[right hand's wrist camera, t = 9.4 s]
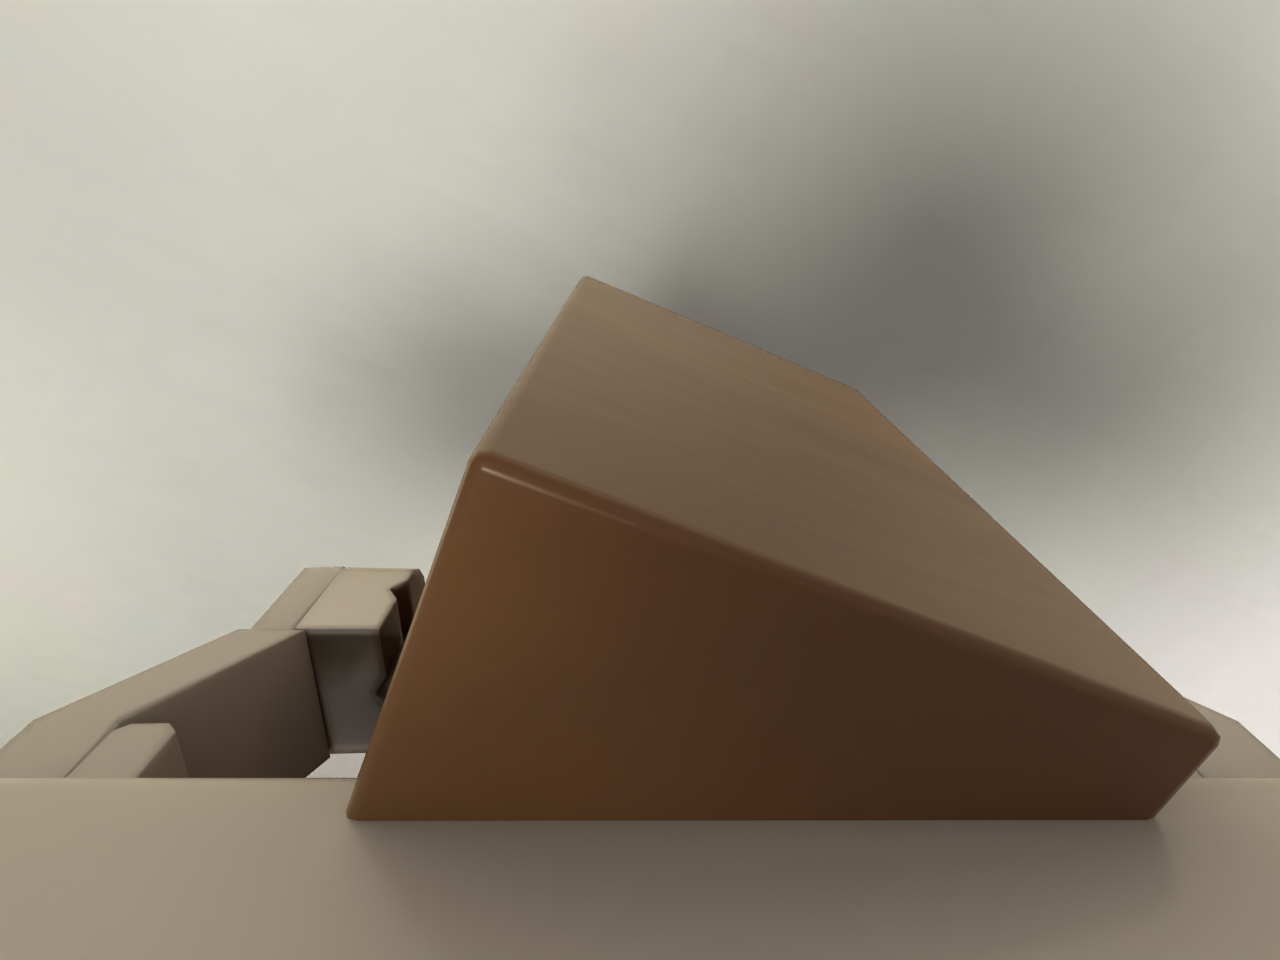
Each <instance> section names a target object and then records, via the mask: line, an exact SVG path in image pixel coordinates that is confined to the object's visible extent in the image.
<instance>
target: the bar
mask: <svg viewBox="0 0 1280 960" xmlns="http://www.w3.org/2000/svg"><path fill="white" fill-rule="evenodd" d="M1220 739H1221V736H1220V734H1219V733H1218V731H1217V729H1216V728H1215V727H1214V726H1213V725H1212V723H1211V722H1209V721H1208V720H1207V719H1206V718H1205V717H1204V716H1203V715H1202V714H1201V713H1200V712H1199V711H1198V710H1197V709H1196V708H1195V707H1194V706H1192V705H1191V704H1190V703H1189V702H1188V701H1187V700H1186V699H1185V698H1184V697H1183V696H1182V695H1181V694H1180V693H1179V692H1178V691H1176V690H1175V689H1174V688H1173V687H1172V686H1171V685H1170V684H1169V683H1168V682H1167V681H1166V680H1165V679H1164V678H1163V677H1162V676H1160V675H1159V674H1158V673H1157V672H1156V671H1155V670H1154V669H1153V668H1152V667H1151V666H1150V665H1149V664H1148V663H1147V662H1146V661H1145V660H1143V659H1142V658H1141V657H1140V656H1139V655H1138V654H1137V653H1136V652H1135V651H1134V650H1133V649H1132V648H1131V647H1130V646H1129V645H1127V644H1126V643H1125V642H1124V641H1123V640H1122V639H1121V638H1120V637H1119V636H1118V635H1117V634H1116V633H1115V632H1114V631H1113V630H1111V629H1110V628H1109V627H1108V626H1107V625H1106V624H1105V623H1104V622H1103V621H1102V620H1101V619H1100V618H1099V617H1098V616H1097V615H1096V614H1094V613H1093V612H1092V611H1091V610H1090V609H1089V608H1088V607H1087V606H1086V605H1085V604H1084V603H1083V602H1082V601H1081V600H1080V599H1078V598H1077V597H1076V596H1075V595H1074V594H1073V593H1072V592H1071V591H1070V590H1069V589H1068V588H1067V587H1066V586H1065V585H1064V584H1062V583H1061V582H1060V581H1059V580H1058V579H1057V578H1056V577H1055V576H1054V575H1053V574H1052V573H1051V572H1050V571H1049V570H1048V569H1046V568H1045V567H1044V566H1043V565H1042V564H1041V563H1040V562H1039V561H1038V560H1037V559H1036V558H1035V557H1034V556H1033V555H1032V554H1031V553H1029V552H1028V551H1027V550H1026V549H1025V548H1024V547H1023V546H1022V545H1021V544H1020V543H1019V542H1018V541H1017V540H1016V539H1015V538H1013V537H1012V536H1011V535H1010V534H1009V533H1008V532H1007V531H1006V530H1005V529H1004V528H1003V527H1002V526H1001V525H1000V524H999V523H997V522H996V521H995V520H994V519H993V518H992V517H991V516H990V515H989V514H988V513H987V512H986V511H985V510H984V509H983V508H982V507H980V506H979V505H978V504H977V503H976V502H975V501H974V500H973V499H972V498H971V497H970V496H969V495H968V494H967V493H966V492H964V491H963V490H962V489H961V488H960V487H959V486H958V485H957V484H956V483H955V482H954V481H953V480H952V479H951V478H950V477H948V476H947V475H946V474H945V473H944V472H943V471H942V470H941V469H940V468H939V467H938V466H937V465H936V464H935V463H934V462H933V461H931V460H930V459H929V458H928V457H927V456H926V455H925V454H924V453H923V452H922V451H921V450H920V449H919V448H918V447H917V446H915V445H914V444H913V443H912V442H911V441H910V440H909V439H908V438H907V437H906V436H905V435H904V434H903V433H902V432H901V431H899V430H898V429H897V428H896V427H895V426H894V425H893V424H892V423H891V422H890V421H889V420H888V419H887V418H886V417H885V416H883V415H882V414H881V413H880V412H879V411H878V410H877V409H876V408H875V407H874V406H873V405H872V404H871V403H870V402H869V401H868V400H866V399H865V398H864V397H863V396H862V395H861V394H860V393H859V392H858V391H857V390H855V389H853V388H850V387H848V386H846V385H843V384H841V383H839V382H836V381H834V380H832V379H829V378H827V377H824V376H822V375H820V374H817V373H815V372H813V371H810V370H808V369H806V368H803V367H801V366H799V365H796V364H794V363H791V362H789V361H787V360H784V359H782V358H780V357H777V356H775V355H773V354H770V353H768V352H766V351H763V350H761V349H758V348H756V347H754V346H751V345H749V344H747V343H744V342H742V341H740V340H737V339H735V338H733V337H730V336H728V335H725V334H723V333H721V332H718V331H716V330H714V329H711V328H709V327H707V326H704V325H702V324H700V323H697V322H695V321H692V320H690V319H688V318H685V317H683V316H681V315H678V314H676V313H674V312H671V311H669V310H666V309H664V308H662V307H659V306H657V305H655V304H652V303H650V302H648V301H645V300H643V299H641V298H638V297H636V296H633V295H631V294H629V293H626V292H624V291H622V290H619V289H617V288H615V287H612V286H610V285H608V284H605V283H603V282H600V281H598V280H596V279H593V278H591V277H589V276H584V277H583V278H582V279H581V280H580V281H579V283H578V284H577V286H576V288H575V289H574V291H573V292H572V294H571V296H570V297H569V299H568V301H567V302H566V304H565V305H564V307H563V309H562V310H561V312H560V313H559V315H558V317H557V318H556V320H555V322H554V323H553V325H552V326H551V328H550V330H549V331H548V333H547V334H546V336H545V338H544V339H543V341H542V342H541V344H540V346H539V347H538V349H537V351H536V352H535V354H534V355H533V357H532V359H531V360H530V362H529V363H528V365H527V367H526V368H525V370H524V372H523V373H522V375H521V376H520V378H519V380H518V381H517V383H516V384H515V386H514V388H513V389H512V391H511V393H510V394H509V396H508V397H507V399H506V401H505V402H504V404H503V405H502V407H501V409H500V410H499V412H498V414H497V415H496V417H495V418H494V420H493V422H492V423H491V425H490V426H489V428H488V430H487V431H486V433H485V435H484V436H483V438H482V439H481V441H480V443H479V444H478V446H477V447H476V449H475V451H474V452H473V454H472V456H471V457H470V459H469V461H468V464H467V466H466V469H465V472H464V475H463V478H462V481H461V484H460V486H459V489H458V492H457V495H456V498H455V501H454V504H453V506H452V509H451V512H450V515H449V518H448V521H447V524H446V526H445V529H444V532H443V535H442V538H441V541H440V544H439V546H438V549H437V552H436V555H435V558H434V561H433V564H432V566H431V569H430V572H429V575H428V578H427V581H426V584H425V586H424V589H423V592H422V595H421V598H420V601H419V604H418V606H417V609H416V612H415V615H414V618H413V621H412V623H411V626H410V629H409V632H408V635H407V638H406V641H405V643H404V646H403V649H402V652H401V655H400V658H399V661H398V663H397V666H396V669H395V672H394V675H393V678H392V681H391V683H390V686H389V689H388V692H387V695H386V698H385V701H384V703H383V706H382V709H381V712H380V715H379V718H378V721H377V723H376V726H375V729H374V732H373V735H372V738H371V741H370V743H369V746H368V749H367V752H366V755H365V758H364V761H363V763H362V766H361V769H360V772H359V775H358V778H357V781H356V783H355V786H354V789H353V792H352V795H351V798H350V800H349V803H348V806H347V809H346V814H347V818H349V819H352V820H356V821H754V820H1148V819H1150V818H1153V817H1155V816H1156V815H1157V814H1158V813H1159V811H1160V810H1161V809H1162V808H1163V807H1164V806H1165V805H1166V804H1167V803H1168V801H1169V800H1170V799H1171V798H1172V797H1173V796H1174V795H1175V794H1176V792H1177V791H1178V790H1179V789H1180V788H1181V787H1182V786H1183V785H1184V784H1185V782H1186V781H1187V780H1188V779H1189V778H1190V777H1191V776H1192V775H1193V774H1194V772H1195V771H1196V770H1197V769H1198V768H1199V767H1200V766H1201V765H1202V763H1203V762H1204V761H1205V760H1206V759H1207V758H1208V757H1209V756H1210V755H1211V753H1212V752H1213V751H1214V750H1215V749H1216V748H1217V747H1218V745H1219V742H1220Z"/></svg>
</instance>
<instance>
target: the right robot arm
mask: <svg viewBox="0 0 1280 960" xmlns="http://www.w3.org/2000/svg"><path fill="white" fill-rule="evenodd" d="M424 586H425V581H424V576H423V575H422V573H421V571H420V570H419V569H400V568H345V567H316V568H305V569H304V570H303V571H302V572H301V573H300V574H299V575H298V576H297V578H296V579H295V580H294V581H293V582H292V583H291V584H290V585H289V587H288V588H287V589H286V590H285V591H284V592H283V593H282V594H281V596H280V597H279V598H278V599H277V600H276V601H275V602H274V603H273V605H272V606H271V607H270V608H269V609H268V610H267V611H266V612H265V614H264V615H263V616H262V617H261V618H260V619H259V620H258V621H257V623H256V624H255V625H254V626H253V627H252V628H251V629H250V630H236V631H234V632H232V633H230V634H227V635H225V636H223V637H221V638H218V639H216V640H214V641H211V642H209V643H207V644H205V645H202V646H200V647H198V648H196V649H193V650H191V651H189V652H187V653H184V654H182V655H180V656H178V657H175V658H173V659H171V660H169V661H166V662H164V663H162V664H160V665H157V666H155V667H153V668H151V669H148V670H146V671H144V672H142V673H139V674H137V675H135V676H133V677H130V678H128V679H126V680H124V681H121V682H119V683H117V684H114V685H112V686H110V687H108V688H105V689H103V690H101V691H99V692H96V693H94V694H92V695H90V696H87V697H85V698H83V699H81V700H78V701H76V702H74V703H72V704H69V705H67V706H65V707H63V708H60V709H58V710H56V711H54V712H51V713H49V714H47V715H45V716H42V717H40V718H38V719H36V720H33V721H32V722H31V723H30V724H29V725H28V726H26V727H25V728H24V729H23V730H22V731H21V732H20V733H18V734H17V735H16V736H15V737H14V738H13V739H12V740H11V741H9V742H8V743H7V744H6V745H5V746H4V747H3V748H1V749H0V960H1280V759H1279V758H1278V757H1277V756H1276V755H1275V754H1274V753H1273V752H1271V751H1270V750H1269V749H1268V748H1267V747H1266V746H1265V745H1264V744H1262V743H1261V742H1260V741H1259V740H1258V739H1257V738H1256V737H1255V736H1254V735H1252V734H1251V733H1250V732H1249V731H1248V730H1247V729H1246V728H1245V727H1244V726H1242V725H1241V724H1240V723H1239V722H1238V721H1236V720H1234V719H1231V718H1229V717H1227V716H1225V715H1222V714H1220V713H1218V712H1216V711H1213V710H1211V709H1209V708H1207V707H1205V706H1202V705H1200V704H1198V703H1196V702H1193V701H1191V700H1189V699H1187V698H1185V697H1184V698H1185V699H1186V700H1187V701H1188V702H1189V703H1190V704H1191V705H1192V706H1194V707H1195V708H1196V709H1197V710H1198V711H1199V712H1200V713H1201V714H1202V715H1203V716H1204V717H1205V718H1206V719H1207V720H1208V721H1209V722H1211V723H1212V725H1213V726H1214V727H1215V728H1216V729H1217V731H1218V733H1219V734H1220V736H1221V739H1220V742H1219V745H1218V747H1217V748H1216V749H1215V750H1214V751H1213V752H1212V753H1211V755H1210V756H1209V757H1208V758H1207V759H1206V760H1205V761H1204V762H1203V763H1202V765H1201V766H1200V767H1199V768H1198V769H1197V770H1196V771H1195V772H1194V774H1193V775H1192V776H1191V777H1190V778H1189V779H1188V780H1187V781H1186V782H1185V784H1184V785H1183V786H1182V787H1181V788H1180V789H1179V790H1178V791H1177V792H1176V794H1175V795H1174V796H1173V797H1172V798H1171V799H1170V800H1169V801H1168V803H1167V804H1166V805H1165V806H1164V807H1163V808H1162V809H1161V810H1160V811H1159V813H1158V814H1157V815H1156V816H1155V817H1153V818H1150V819H1148V820H754V821H356V820H352V819H349V818H347V814H346V809H347V806H348V803H349V800H350V798H351V795H352V792H353V789H354V786H355V783H356V781H357V778H305V777H306V776H308V775H309V774H310V773H311V772H313V771H314V770H315V769H316V768H317V767H319V766H320V765H321V764H322V763H324V762H325V761H326V760H327V759H328V758H330V754H339V753H366V752H367V749H368V746H369V743H370V741H371V738H372V735H373V732H374V729H375V726H376V723H377V721H378V718H379V715H380V712H381V709H382V706H383V703H384V701H385V698H386V695H387V692H388V689H389V686H390V683H391V681H392V678H393V675H394V672H395V669H396V666H397V663H398V661H399V658H400V655H401V652H402V649H403V646H404V643H405V641H406V638H407V635H408V632H409V629H410V626H411V623H412V621H413V618H414V615H415V612H416V609H417V606H418V604H419V601H420V598H421V595H422V592H423V589H424Z"/></svg>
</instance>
